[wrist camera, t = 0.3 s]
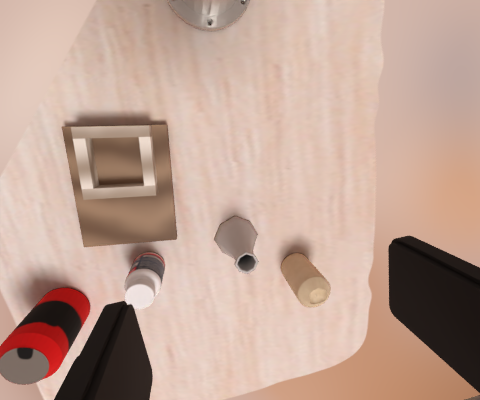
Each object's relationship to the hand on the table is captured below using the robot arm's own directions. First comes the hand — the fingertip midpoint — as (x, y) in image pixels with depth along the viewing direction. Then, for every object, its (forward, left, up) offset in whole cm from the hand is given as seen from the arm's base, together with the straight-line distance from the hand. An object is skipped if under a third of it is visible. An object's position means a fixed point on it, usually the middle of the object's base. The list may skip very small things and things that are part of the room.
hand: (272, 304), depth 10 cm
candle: (+19, +15, -36) cm, 43 cm away
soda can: (+22, -25, -36) cm, 49 cm away
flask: (+12, +4, -36) cm, 38 cm away
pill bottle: (+16, -11, -36) cm, 41 cm away
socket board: (+2, -13, -36) cm, 38 cm away
